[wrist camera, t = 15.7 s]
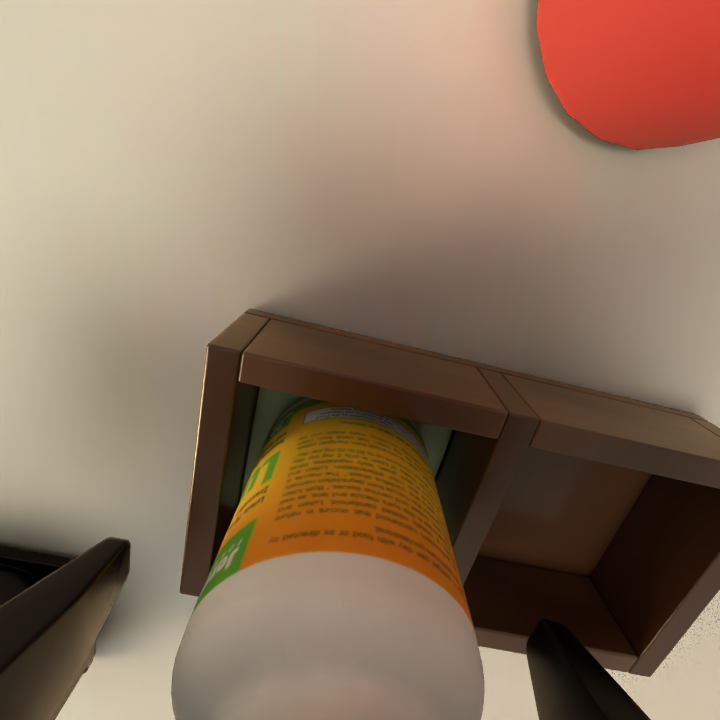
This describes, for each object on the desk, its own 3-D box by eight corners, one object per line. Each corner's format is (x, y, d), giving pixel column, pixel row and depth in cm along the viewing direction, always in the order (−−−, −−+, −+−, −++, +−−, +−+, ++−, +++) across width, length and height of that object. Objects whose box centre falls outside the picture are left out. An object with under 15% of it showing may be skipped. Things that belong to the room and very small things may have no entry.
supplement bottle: (272, 371, 12) (-2, 858, 3) (443, 398, 12) (664, 916, 3) (259, 509, 14) (66, 1062, 5) (407, 529, 14) (484, 1087, 5)
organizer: (218, 510, 15) (178, 594, 12) (248, 307, 12) (205, 343, 9) (592, 583, 16) (650, 678, 13) (698, 414, 13) (807, 480, 10)
